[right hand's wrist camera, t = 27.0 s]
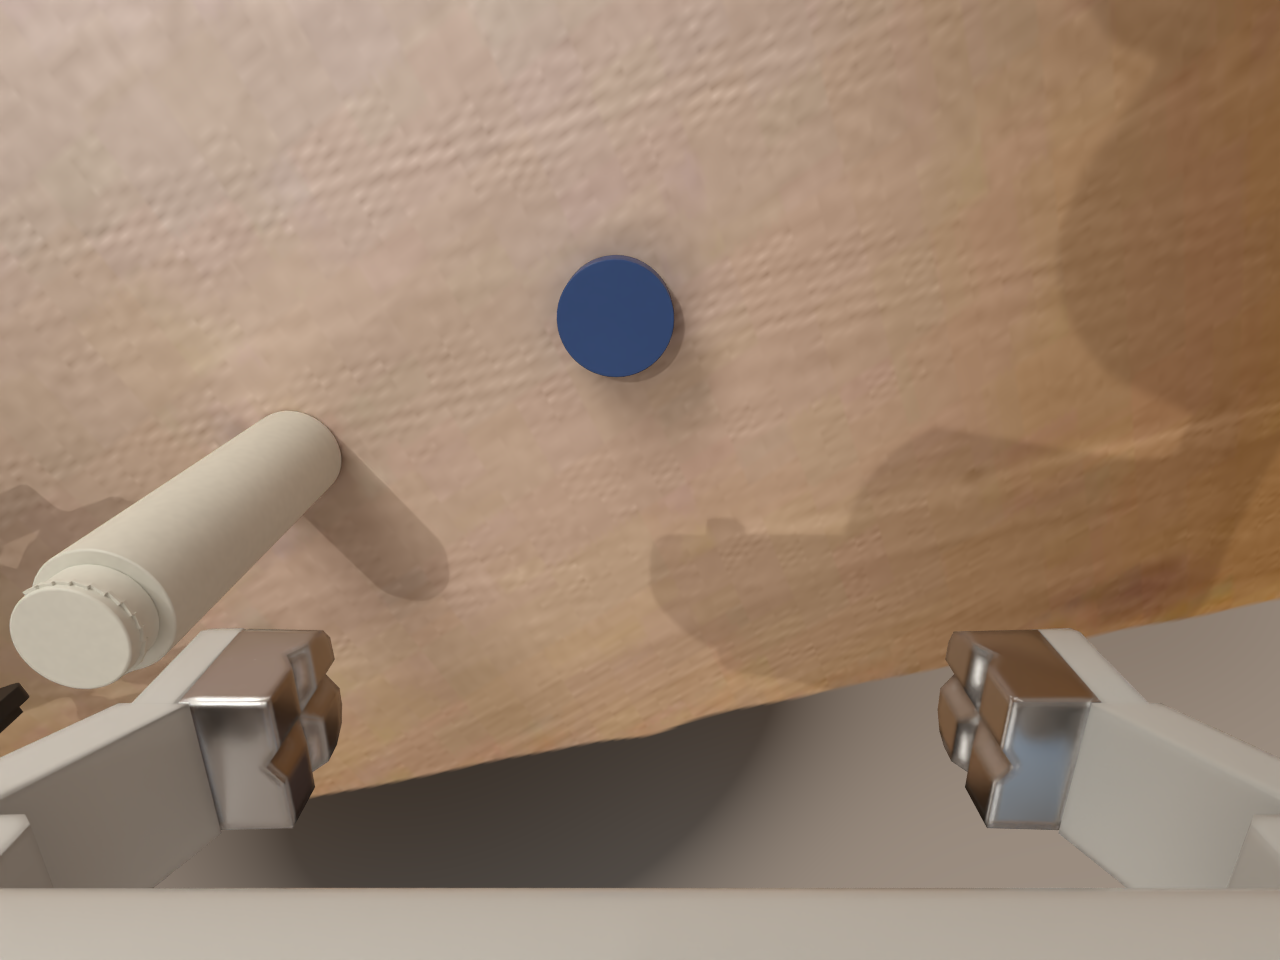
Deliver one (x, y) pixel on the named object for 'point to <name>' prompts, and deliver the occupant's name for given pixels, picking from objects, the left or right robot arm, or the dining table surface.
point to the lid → (615, 316)
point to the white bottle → (171, 554)
